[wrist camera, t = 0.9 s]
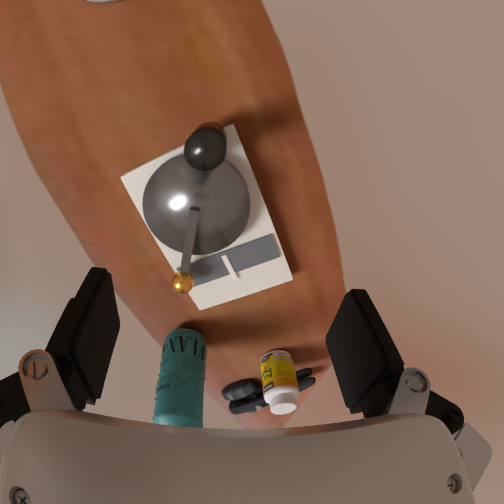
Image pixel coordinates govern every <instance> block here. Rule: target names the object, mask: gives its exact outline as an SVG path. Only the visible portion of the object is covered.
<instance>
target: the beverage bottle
mask: <svg viewBox="0 0 504 504" xmlns="http://www.w3.org/2000/svg"><path fill="white" fill-rule="evenodd" d="M164 342H165V346H163V351H162V352H163V353H162V354H163V357H162V362H161V369H160V375H159V380H158V388H157V389H156V390H157V392H156V393H157V395H156V399H155V400H156V403H155V410H154V416H153V423H154V424H162V425H171V426H181V427H194V428H203V422H202V421H203V391H204V380H206V379H204V376H205V374H206V373H205V366H206V364H205V358H206V357H207V356H206V347H207V346H206V344H207V343H206V341H205V339H204V337H203V336H202V335H201V334H200V333H198V332H197V331H194V330H191V329H186V328H180V329H175V330H173V331H171V332H170V333H169V334H168V336H167V337H166V339H165V341H164ZM206 360H207V359H206Z"/></svg>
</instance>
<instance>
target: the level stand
mask: <svg viewBox="0 0 504 504" xmlns="http://www.w3.org/2000/svg"><path fill="white" fill-rule="evenodd" d="M223 128H224V130H225V131H226V134H227V147H226V156H225V159H226V160H228V161H229V162H230V163H232V164H233V165H234V166H235V167H236V168H237V169H238V170H239V172H240V173H241V174H242V176H243V178H244V180H245V182H246V184H247V187H248V191H249V196H250V205H251V207H250V215H249V220H248V222H247V225H246V227H245V229H244V231H243V232H242V234H241V235H240V236H239V237H238V238H237V239H236V241H234V242H233V243H232V244H231V245H229V246H228V247H226V248H224V249H222V250H220V251H218V252H215V253H211V254H206V255H192V257H191V263H190V269H189V273H190V274H191V275H192V276H193V278H194V286H193V288H192V290H191V291H189V292H188V293H189V295H190V296H191V298H192V299H193V301H194V302H195V304H196V305H197V307H198V308H199V310H202V309H206V308H209V307H212V306H215V305H218V304H222V303H225V302H228V301H231V300H234V299H237V298H240V297H243V296H246V295H249V294H252V293H255V292H258V291H261V290H264V289H267V288H270V287H273V286H276V285H279V284H282V283H285V282H288V281H291V280H293V277H292V274H291V271H290V268H289V266H288V263H287V260H286V257H285V255H284V252H283V249H282V247H281V244H280V241H279V239H278V236H277V233H276V231H275V228H274V225H273V223H272V220H271V217H270V215H269V212H268V209H267V207H266V204H265V202H264V199H263V197H262V194H261V191H260V189H259V186H258V184H257V181H256V179H255V176H254V173H253V171H252V168H251V166H250V163H249V161H248V158H247V156H246V153H245V151H244V148H243V146H242V144H241V141H240V139H239V136H238V134H237V131H236V129H235V126H234V124H231V125H228V126H226V127H223ZM184 145H185V144H183V145H181V146H179V147H176V148H174V149H172V150H170V151H168V152H166V153H164V154H162V155H160V156H158V157H156V158H154V159H152V160H150V161H148V162H146V163H144V164H142V165H140V166H138V167H136V168H134V169H132V170H130V171H128V172H126V173H125V174H124V175H122V176H121V177H120V178H121V180H122V182H123V184H124V185H125V187H126V189H127V191H128V193H129V195H130V196H131V198H132V200H133V202H134V204H135V206H136V207H137V209H138V211H139V213H140V214H141V216H142V218H143V220H144V221H145V223H146V220H145V218H144V213H143V206H142V202H143V194H144V190H145V187H146V184H147V182H148V180H149V179H150V177H151V176H152V174H153V173H154V172H155V171H156V170H157V169H158V167H159V166H160V165H161V164H163V163H164V162H165V161H166V160H168V159H169V158H171V157H173V156H175V155H178V154H180V153H184ZM146 225H147V223H146ZM147 227H148V225H147ZM148 228H149V227H148ZM149 230H150V229H149ZM150 232H151V230H150ZM151 233H152V232H151ZM152 235H153V237H154V239H155V240H156V242H157V244H158V245H159V247H160V249H161V250H162V252H163V253H164V255H165V257H166V258H167V260H168V262H169V263H170V265H171V266H172V268H173V270H174V271H175V273H177V272H178V271H180V267H181V260H182V253H181V252H178V251H175V250H173V249H171V248H169V247H167V246H166V245H164V244H163V243H162V242H161V241H159V240H158V239H157V238H156V237H155V236H154V234H153V233H152Z"/></svg>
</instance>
